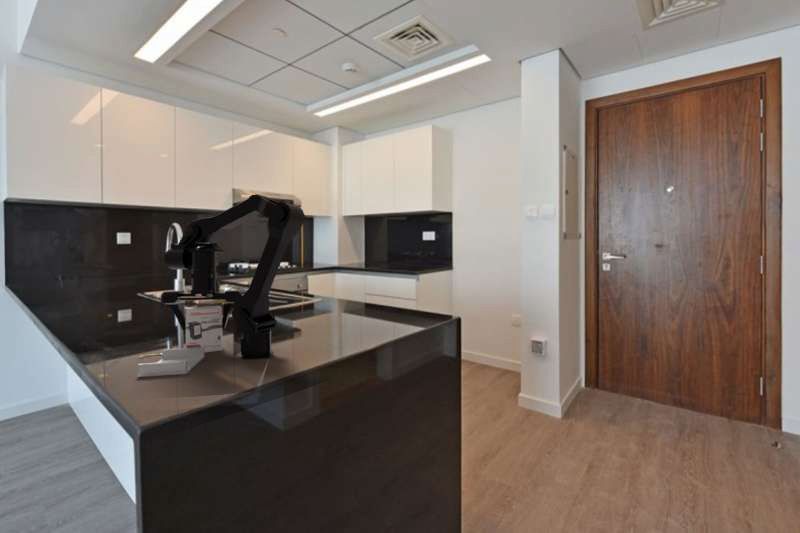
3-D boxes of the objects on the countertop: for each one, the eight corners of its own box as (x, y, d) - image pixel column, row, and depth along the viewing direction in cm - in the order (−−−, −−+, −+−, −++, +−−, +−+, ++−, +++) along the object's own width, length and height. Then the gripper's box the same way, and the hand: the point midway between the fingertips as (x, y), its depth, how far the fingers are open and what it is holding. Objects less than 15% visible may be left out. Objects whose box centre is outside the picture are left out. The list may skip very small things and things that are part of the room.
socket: (204, 357, 96) (204, 347, 96) (186, 373, 82) (185, 362, 82) (163, 359, 94) (163, 349, 94) (137, 377, 80) (137, 364, 80)
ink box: (186, 356, 98) (185, 309, 98) (185, 352, 102) (185, 307, 102) (223, 352, 102) (222, 307, 102) (221, 348, 106) (221, 305, 106)
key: (166, 354, 99) (166, 352, 99) (166, 356, 97) (166, 353, 97) (139, 357, 96) (139, 355, 96) (139, 359, 94) (139, 357, 94)
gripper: (246, 269, 112) (246, 323, 112) (174, 269, 108) (174, 325, 108) (240, 269, 101) (240, 330, 101) (159, 270, 97) (159, 333, 97)
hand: (204, 329), depth 102 cm, fingers open, 9 cm apart
